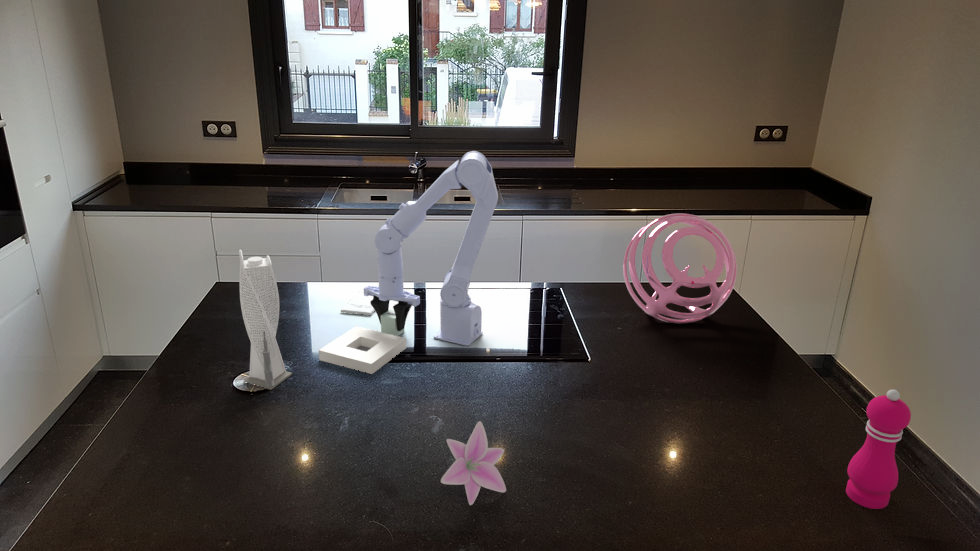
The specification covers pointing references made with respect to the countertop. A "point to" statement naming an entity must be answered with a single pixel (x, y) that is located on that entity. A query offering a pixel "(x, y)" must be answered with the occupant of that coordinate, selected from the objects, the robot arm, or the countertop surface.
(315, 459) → the countertop surface
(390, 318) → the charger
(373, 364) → the outlet plate
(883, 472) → the pepper mill
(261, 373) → the skyscraper
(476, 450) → the lily
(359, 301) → the external hard drive
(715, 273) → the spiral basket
